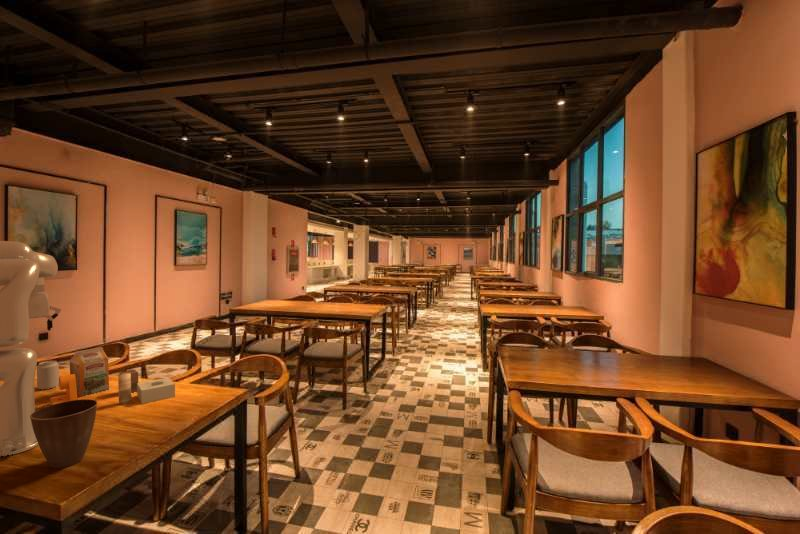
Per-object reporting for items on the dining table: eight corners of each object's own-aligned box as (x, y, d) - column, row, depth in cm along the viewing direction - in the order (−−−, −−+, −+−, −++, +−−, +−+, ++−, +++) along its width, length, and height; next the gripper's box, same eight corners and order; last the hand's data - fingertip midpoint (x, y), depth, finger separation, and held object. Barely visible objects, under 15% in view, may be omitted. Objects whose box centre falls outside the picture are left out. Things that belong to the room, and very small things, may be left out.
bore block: (175, 396, 166) (174, 384, 166) (141, 403, 158) (141, 390, 158) (169, 389, 175) (168, 377, 175) (137, 395, 167) (137, 383, 167)
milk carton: (80, 397, 165) (79, 353, 165) (70, 392, 171) (69, 350, 170) (109, 390, 174) (108, 348, 174) (98, 385, 180) (97, 345, 179)
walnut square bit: (138, 391, 172) (138, 371, 172) (124, 395, 168) (123, 374, 167) (134, 389, 175) (133, 369, 175) (119, 392, 171) (119, 372, 171)
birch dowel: (132, 402, 159) (131, 374, 158) (119, 405, 156) (118, 376, 156) (130, 400, 162) (129, 371, 162) (118, 402, 159) (117, 374, 159)
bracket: (50, 404, 158) (49, 375, 157) (72, 399, 163) (72, 371, 163) (53, 411, 150) (53, 381, 150) (77, 405, 156) (76, 376, 155)
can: (41, 386, 179) (40, 360, 179) (61, 384, 182) (61, 359, 182) (34, 391, 172) (33, 365, 172) (55, 389, 175) (54, 363, 175)
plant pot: (18, 480, 104) (16, 422, 104) (51, 452, 119) (49, 401, 118) (83, 471, 108) (82, 415, 108) (107, 446, 123) (106, 396, 122)
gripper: (1, 291, 146) (3, 336, 146) (61, 288, 159) (62, 329, 159) (0, 290, 151) (1, 333, 151) (58, 287, 164) (59, 327, 164)
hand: (33, 331), depth 155 cm, fingers open, 9 cm apart
